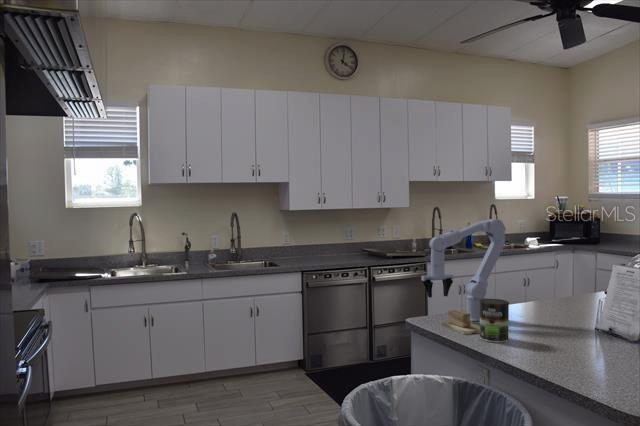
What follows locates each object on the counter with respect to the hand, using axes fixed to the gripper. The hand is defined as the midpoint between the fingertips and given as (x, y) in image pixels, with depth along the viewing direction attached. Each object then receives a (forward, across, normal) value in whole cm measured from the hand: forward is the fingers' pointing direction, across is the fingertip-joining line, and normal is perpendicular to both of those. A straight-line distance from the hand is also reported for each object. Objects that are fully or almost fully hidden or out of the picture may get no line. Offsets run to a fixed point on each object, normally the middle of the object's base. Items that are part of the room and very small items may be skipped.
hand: (437, 296), depth 218 cm
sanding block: (+9, -1, +16) cm, 18 cm away
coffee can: (+10, -4, +34) cm, 36 cm away
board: (+10, -3, +17) cm, 20 cm away
